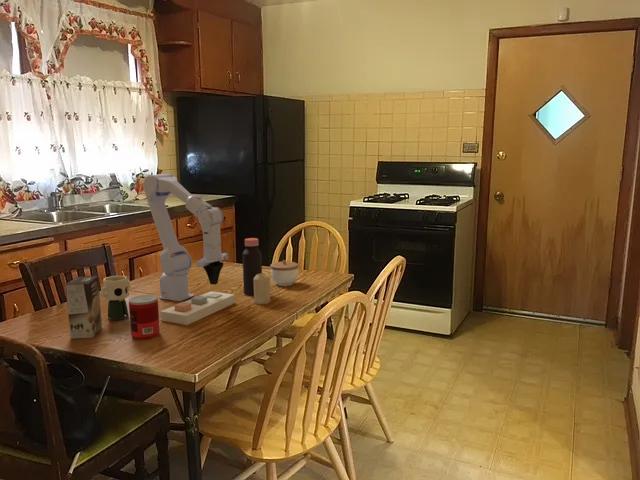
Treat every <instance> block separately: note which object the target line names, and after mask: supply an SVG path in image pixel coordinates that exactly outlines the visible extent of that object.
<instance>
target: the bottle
mask: <svg viewBox="0 0 640 480" xmlns="http://www.w3.org/2000/svg"><path fill="white" fill-rule="evenodd" d="M259 242H260V241H259V238H256V237H250V238H249V237H248V238H245V239H244V247H245V249H244V250H243V252H242V278H243V283H242V284H243V294H244V295H245V296H250V297H251V296H253V297H254V277H255V276H256V275H257V274H260V273H263V269H262V268H263V267H262V265H263V264H262V262H263V261H262V258H263V257H262V251H260V249H259Z"/></svg>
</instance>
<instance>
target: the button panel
mask: <svg viewBox="0 0 640 480" xmlns="http://www.w3.org/2000/svg"><path fill="white" fill-rule="evenodd" d="M212 293H216V294H222V296H221V297H219V298H216V299H214V298H207V303H205V304H202V305H196V304H191V310H188V311H186V312H179V311H175V306H174V305H172V306H170V307H168V308H165V309H163V310H161V311H160V318H161V320H160V321H162V322H168V323H172V324H178V325H184V326H188V325H190V324H193V323H195V322H196V321H199V320H201V319H203V318H205V317H208V316H210V315H212V314H214V313H216V312H219V311H221V310H223V309H225V308H227V307H230V306H232V305H233V304H235V303H236V302H235V294H233V293H224V292H219V291H209V292H206V293H203V294H201V295H199V296H205V297H207V296H208V295H210V294H212ZM184 302H186V303H191V299H188V300H184Z"/></svg>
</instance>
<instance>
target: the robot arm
mask: <svg viewBox="0 0 640 480" xmlns="http://www.w3.org/2000/svg"><path fill="white" fill-rule="evenodd" d="M142 188H143V191H144V194H145V197H146V200H147V204H148V207H149V208H148V209H149V211H150V213H151V215H152V219H153V222H154V224H155V228H156V231H157V234H158V236H159V240H160V242H161V244H162V248H163V250H162V252H161V253H160V254H159V258H160V268H161V271H162V272H163V273H162V274H161V275H160V278H159V285H160V286H159V287H160V288H159V289H160V296H159V299H163V300H170V301H175V302H183V301H186V300H187V299H189V298H193V297H195V294H193V293H190V292H189V290H190V289H189V275H188V273H189V272H190V269H191V268H192V266H193V265H192V264H193V259H192V257H191V255H190V254H189V252H188V251H187V248H186V247H185V246H183V245H181V244H180V243H179V240H178V237H177V235H176V231H175V229H174V225H173V223H172V220H171V216H170V215H169V211H168V208H167V206H166V201H167V199H168V198H169V197H170V195H171V194H172V195H173V196H174V197H176V198H177V199H179V200H181V201H182V202H183V203H185V209H186V210H187V211H189V212H190V213H191V214H193V215H194V216H195V217H197V219H198V222H199V224H200V229H201V232H202V242H203V257H202V258H201V259H199V260H197V261H196V268H200V269H201V268H203V269H204V271H205V273H206V275H207V277H208V280H209V284H210V285H213V286H215V285H218V283H219V279H220V274H221V271H222V269H223V267H224V262H223V261H225V260H228V259H229V254H228V253H227V252H223V253H222V242H221V241H222V239H221V236H222V235H221V224H222V223H223V221H224V213H223V210H222V209H221V208H220V207H219V206H218V207H217V206H215V207H214V206H212V205H211V204H210V203H208V202H207V201H205V200H204V199H202V196H201V195H199V194H193V195H192V193H191V192H189V191H188V190H187V189H186V188H185V187H184V186H183V185H182V184H181V183H180V182H179V181H178V178H177V176H174V175H173V174H172V173H171V172H166V173H161V174H148V175H146V176H145V177H144V180H143V183H142Z"/></svg>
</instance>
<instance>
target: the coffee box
mask: <svg viewBox="0 0 640 480" xmlns="http://www.w3.org/2000/svg"><path fill="white" fill-rule="evenodd" d="M65 290H66V301H67V315H68V327H69V338H70V339H91V338H94V337H95V336H96V334H98V332H99V331H100V330H102V328H103V323H102V310H101V299H100V298H101V294H100V286H99V275H88V276H87V275H85V276H77V277H75V278H73V279H72V280H70V281H68V282H67V283H65Z"/></svg>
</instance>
